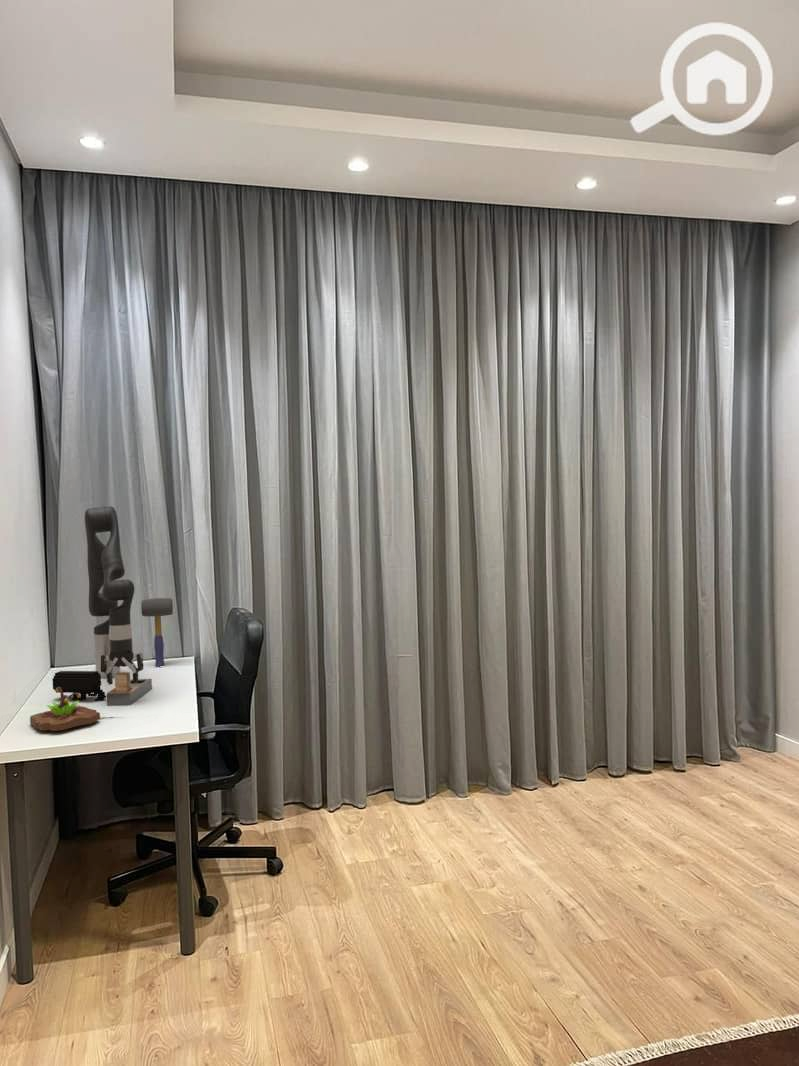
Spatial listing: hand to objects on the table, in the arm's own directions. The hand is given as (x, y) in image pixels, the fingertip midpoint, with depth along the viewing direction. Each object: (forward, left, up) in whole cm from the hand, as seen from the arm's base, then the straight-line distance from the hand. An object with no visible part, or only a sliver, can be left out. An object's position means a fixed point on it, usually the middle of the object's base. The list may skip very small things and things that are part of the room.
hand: (122, 683), depth 297 cm
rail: (-7, 0, -6) cm, 9 cm away
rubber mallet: (-55, -4, -7) cm, 56 cm away
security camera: (-5, -17, -7) cm, 19 cm away
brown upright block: (0, 0, -5) cm, 5 cm away
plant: (+24, -11, -7) cm, 27 cm away
